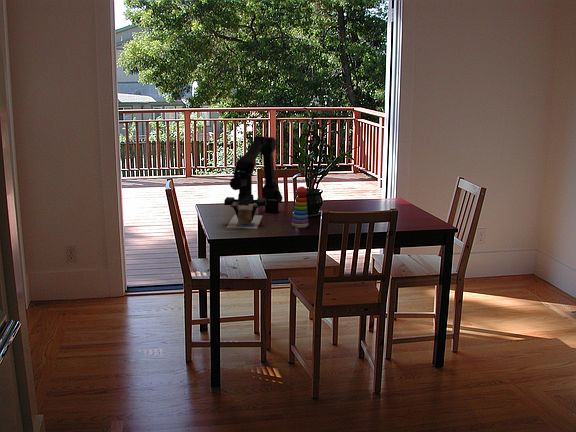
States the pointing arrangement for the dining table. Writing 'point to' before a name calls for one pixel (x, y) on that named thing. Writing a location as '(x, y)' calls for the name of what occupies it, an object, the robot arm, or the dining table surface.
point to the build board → (253, 224)
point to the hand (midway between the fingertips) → (245, 219)
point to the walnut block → (244, 216)
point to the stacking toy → (300, 209)
